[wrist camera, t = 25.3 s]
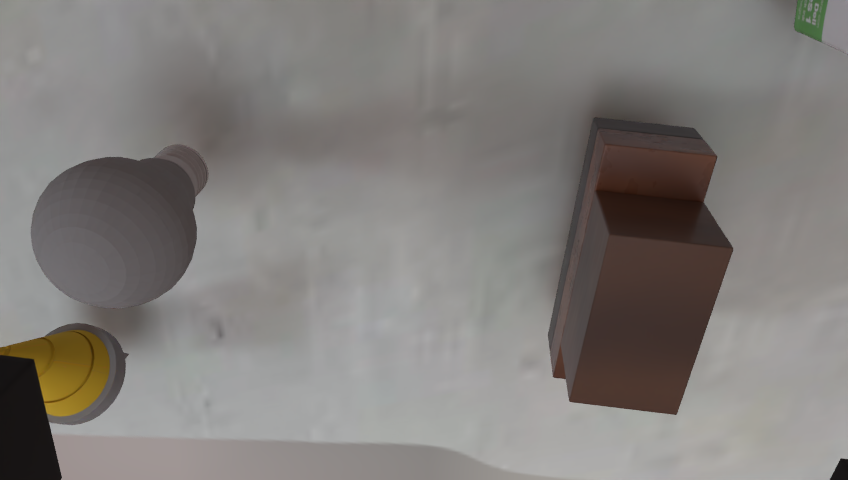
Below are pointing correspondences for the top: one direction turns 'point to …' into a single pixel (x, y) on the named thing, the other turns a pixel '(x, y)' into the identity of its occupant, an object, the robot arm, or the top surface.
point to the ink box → (824, 21)
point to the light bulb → (120, 226)
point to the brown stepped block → (637, 268)
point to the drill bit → (75, 371)
